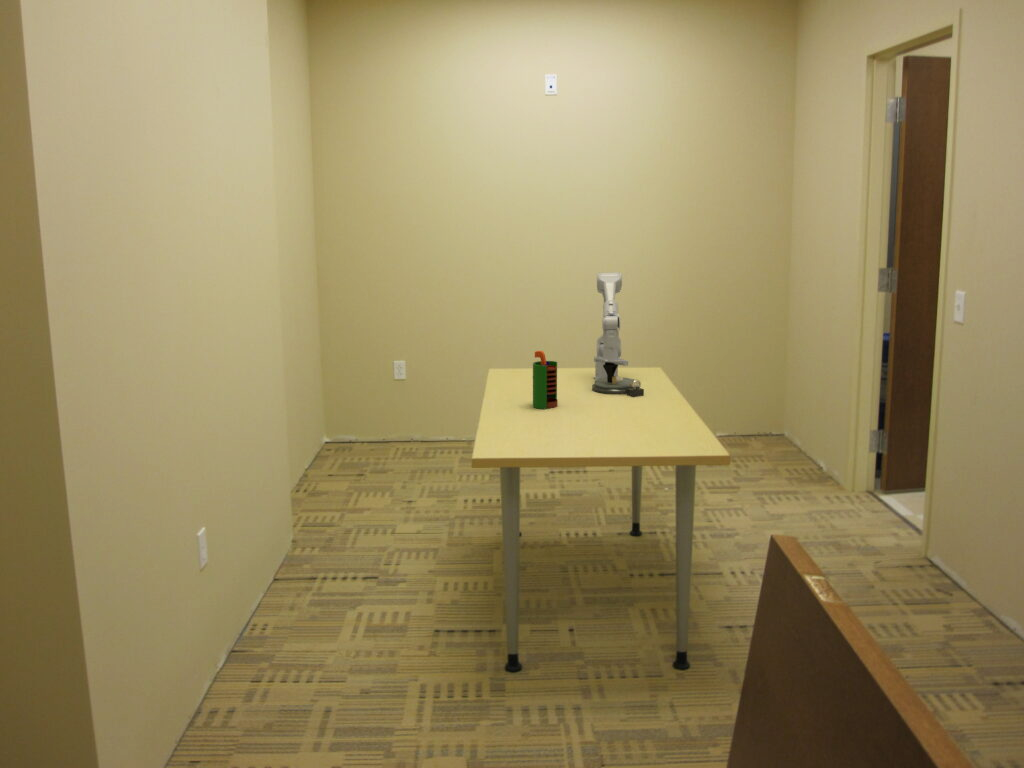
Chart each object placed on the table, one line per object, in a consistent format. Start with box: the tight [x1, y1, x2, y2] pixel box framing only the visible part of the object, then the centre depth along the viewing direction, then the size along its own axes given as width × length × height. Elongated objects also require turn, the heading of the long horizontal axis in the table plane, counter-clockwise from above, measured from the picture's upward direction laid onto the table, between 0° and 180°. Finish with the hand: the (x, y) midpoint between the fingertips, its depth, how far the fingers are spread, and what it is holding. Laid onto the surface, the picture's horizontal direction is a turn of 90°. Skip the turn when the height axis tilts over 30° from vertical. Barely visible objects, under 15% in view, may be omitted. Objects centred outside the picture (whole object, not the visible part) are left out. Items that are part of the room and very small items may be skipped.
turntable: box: [594, 376, 635, 389], centre depth 348 cm, size 16×16×4 cm
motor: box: [532, 350, 559, 410], centre depth 322 cm, size 10×9×20 cm
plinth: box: [591, 382, 629, 395], centre depth 349 cm, size 18×18×2 cm
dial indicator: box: [626, 379, 645, 398], centre depth 338 cm, size 5×5×6 cm
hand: (610, 382), depth 343 cm, fingers closed, pressing on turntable
